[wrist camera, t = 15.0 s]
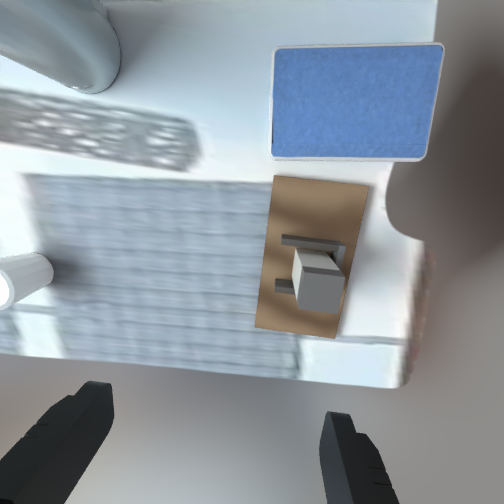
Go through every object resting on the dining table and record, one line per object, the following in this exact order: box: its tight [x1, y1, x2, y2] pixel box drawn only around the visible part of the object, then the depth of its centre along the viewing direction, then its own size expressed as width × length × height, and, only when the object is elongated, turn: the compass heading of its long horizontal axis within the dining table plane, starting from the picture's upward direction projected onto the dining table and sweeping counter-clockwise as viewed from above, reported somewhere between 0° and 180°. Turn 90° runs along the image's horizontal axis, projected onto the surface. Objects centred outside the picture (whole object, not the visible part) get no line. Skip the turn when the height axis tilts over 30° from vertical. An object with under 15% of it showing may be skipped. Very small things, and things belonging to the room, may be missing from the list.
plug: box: [292, 248, 345, 314], centre depth 30 cm, size 4×4×10 cm
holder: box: [255, 175, 369, 339], centre depth 34 cm, size 22×12×4 cm, turn 174°
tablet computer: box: [268, 42, 445, 162], centre depth 31 cm, size 19×13×1 cm, turn 89°
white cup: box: [0, 253, 54, 310], centre depth 37 cm, size 7×7×7 cm
